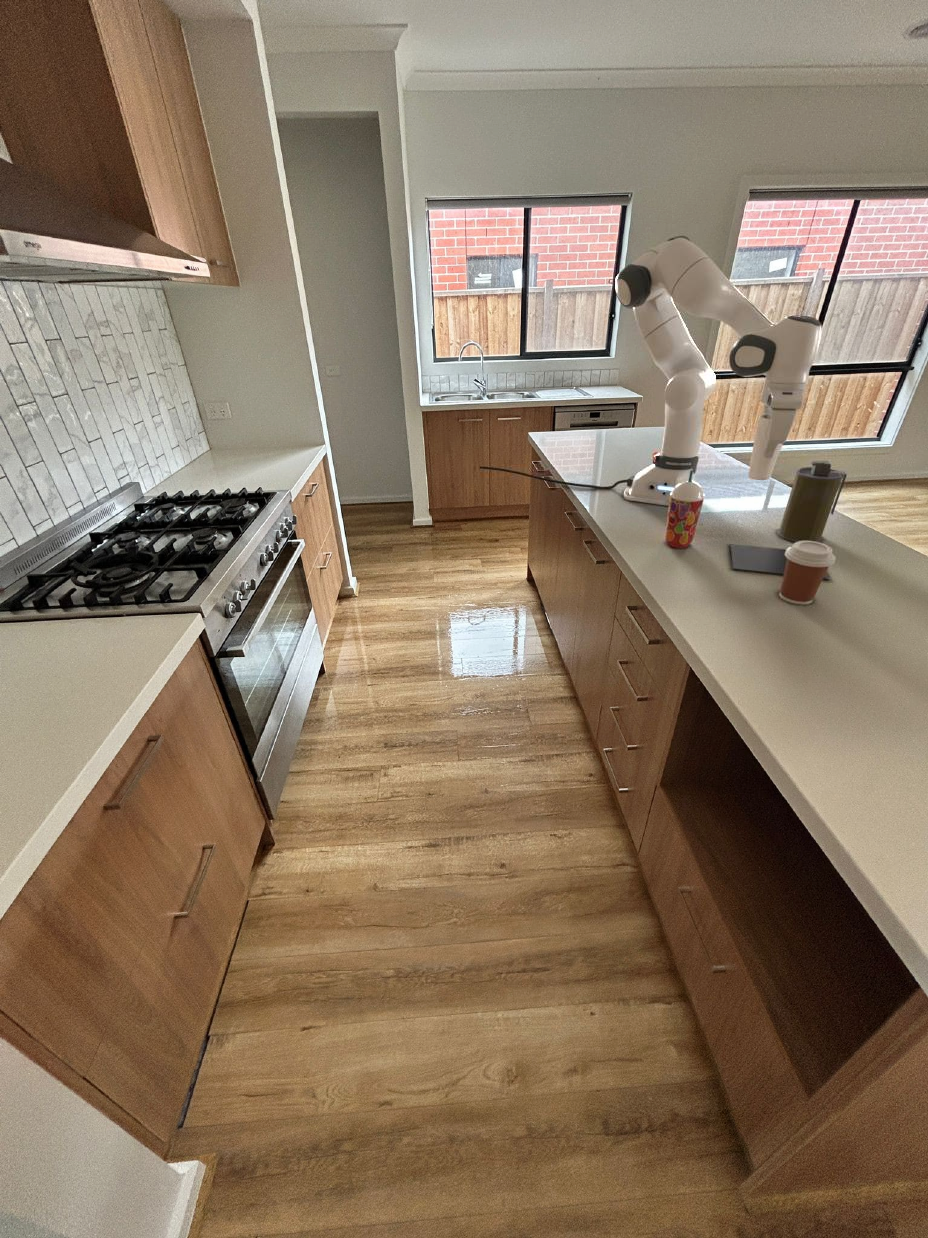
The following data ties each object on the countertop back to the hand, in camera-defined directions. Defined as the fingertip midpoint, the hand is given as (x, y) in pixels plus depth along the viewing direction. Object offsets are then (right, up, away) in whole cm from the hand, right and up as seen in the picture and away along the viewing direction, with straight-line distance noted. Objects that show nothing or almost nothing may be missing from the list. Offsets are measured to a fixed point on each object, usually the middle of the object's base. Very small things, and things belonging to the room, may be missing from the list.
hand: (766, 453), depth 129 cm
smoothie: (-18, -22, +10) cm, 30 cm away
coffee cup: (-3, -37, -16) cm, 41 cm away
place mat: (+1, -28, -2) cm, 28 cm away
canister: (+16, -19, +11) cm, 27 cm away
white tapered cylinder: (0, -5, +4) cm, 6 cm away
